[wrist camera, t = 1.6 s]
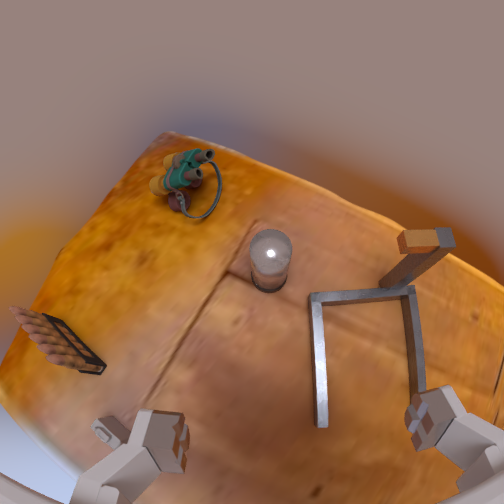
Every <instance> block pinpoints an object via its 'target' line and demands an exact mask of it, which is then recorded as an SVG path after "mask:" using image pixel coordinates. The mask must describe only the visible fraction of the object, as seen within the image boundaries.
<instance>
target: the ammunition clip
mask: <svg viewBox="0 0 504 504" xmlns="http://www.w3.org/2000/svg"><path fill="white" fill-rule="evenodd" d="M9 309H10V311H11V312H12V313H14V314H15V315H16V316H15V318H16V319H17V321H19V322H20V323H22V324H23V325H22V328H23V329H24V330H25V331H26V332H28V333H30V335H29V338H30V339H31V340H33V341H34V342H36V343H38V344H39V345H37V348H38V349H39V350H40V351H42V352H44V353H46V354H49V355H48V356H46V359H47V360H48V361H49V362H51V363H53V364H56V365H60V366H64V367H66V368H69V369H77V370H78V371H79V372H81V373H88V374H95V375H101V374H102V372H103V371H104V369H105V368H106V366H107V365H106V364H105V363H104V362H103V361H102V360H101V359H100V358H99V357H98V356H97V355H95V354H94V353H93V352H92V351H91V350H90V349H89V348H88V347H87V346H86V345H85V344H84V343H83V342H82V341H81V340H80V339H79V338H78V337H77V335H76V334H75V333H74V332H73V331H72V330H71V329H70V328H69V327H68V326H67V325H66V324H65V323H64V322H63V321H62V320H61V319H58V318H55V317H53V316H50V315H47V314H45V313H42V314H39V313H37V312H34V311H32V310H26V309H23V308H20V307H14V306H12V307H9Z"/></svg>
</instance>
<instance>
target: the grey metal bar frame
mask: <svg viewBox="0 0 504 504" xmlns="http://www.w3.org/2000/svg"><path fill="white" fill-rule="evenodd" d="M397 241H398V246H399V251H400V254H408V255H407V256H406V257H405V258H404V259H403V260H402V261H401V262H399V263H398V264H397V265H396V266H395V267H394V268H393V269H392V270H391V271H390V272H389V273H388V274H387V275H385V276H384V277H383V278H382V279H381V280H380V281H379V286H380V288H374V289H361V290H347V291H332V292H316V293H310V295H309V296H308V309H309V323H310V337H311V354H312V372H313V395H314V425H315V426H316V427H317V428H323V427H328V401H327V378H326V360H325V344H324V330H323V318H322V306H332V305H345V304H357V303H369V302H380V301H390V300H400V299H401V304H402V311H403V318H404V326H405V335H406V344H407V355H408V367H409V383H410V405H411V404H412V402H411V399H412V397H413V395H414V394H415V393H419V392H423V391H426V375H425V362H424V350H423V341H422V332H421V324H420V316H419V310H418V303H417V297H416V291H415V285H409V286H406V285H408V284H409V283H410V282H412V281H413V280H414V279H416V278H417V277H418V276H420V275H421V274H423V273H424V272H425V271H426V270H428V269H429V268H430V267H432V266H433V265H434V264H436V263H437V262H438V261H439V260H441V259H442V258H443V257H444V256H446V255H447V254H448V253H449V252H451V251H452V250H453V249H454V248H455V247H456V244H455V241H454V237H453V234H452V230H451V228H434V229H433V230H403V231H402V232H401V233H400V235H399V236H398V237H397Z"/></svg>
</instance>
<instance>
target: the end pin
mask: <svg viewBox="0 0 504 504" xmlns="http://www.w3.org/2000/svg"><path fill="white" fill-rule="evenodd" d="M291 254H292V244H291V241H290V239H289V238H288V237H287V236H286V235H285V234H284V233H283V232H281V231H278V230H274V229H267V230H263V231H261V232H259V233H257V234H256V235H255V236H254V237H253V239H252V241H251V243H250V259H251V269H252V271H251V277H252V282H253V284H254V286H255V287H256V288H257V289H258V290H260V291H262V292H265V293H274V292H277V291H279V290H280V289H281V288H282V287H283V286H284V284H285V282H286V279H287V272H288V267H289V263H290V259H291Z"/></svg>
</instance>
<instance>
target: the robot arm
mask: <svg viewBox="0 0 504 504" xmlns="http://www.w3.org/2000/svg"><path fill="white" fill-rule="evenodd" d="M411 402H412V404H411V405H410V406H409V407H407V409H406V412H405V425H406V427H407V430H408V431H410V432H411V433H413V434H412V437H411V440H412V442H413V445H414V447H415V450H416V452H417V451H421V450H424V449H428V448H431V447H434V446H435V448H436V449H437V450H439V451H440V452H441V453H442V454H444V455H445V456H446V457H447V458H449V459H450V460H451V461H452V462H454V463H455V464H456V465H457V466H459V467H460V468H461V469H462V470H464V471H465V472H464V473H463V474H462V475H461V476H460V477H459V478H458V479H457V481H456V483H457V486H458V489H459V491H460V493H459V494H457V495H454V496H452V497H450V498H448V499H445V500H443V501H441V502H438V503H436V504H504V431H503V430H501V429H499V428H498V427H496V426H494V425H492V424H490V423H488V422H486V421H485V420H483V419H481V418H479V417H477V416H476V415H474V414H472V413H468V414H467V412H466V410H465V408H464V407H463V405H462V403H461V402H460V400H459V398H458V397H457V395H456V393H455V392H454V390H453V389H452V387H451V386H450V385H445V386H442V387H439V388H434V389H430V390H426V391H423V392H419V393H415V394H414V395H413V397H412V399H411ZM184 422H185V417H184V414H183V413H179V412H169V411H159V410H151V409H143V408H141V409H140V410H139V411H138V413H137V416H136V419H135V422H134V425H133V428H132V431H131V434H130V437H129V440H128V443H127V444H124V443H123V444H122V445H121V446H120V447H118V448H117V449H116V450H114V451H113V452H112V453H110V454H109V455H108V456H106V457H105V458H104V459H102V460H101V461H100V462H98V463H97V464H96V465H94V466H93V467H91V468H90V469H89V470H87V471H86V472H85V473H83V474H82V475H80V476H79V478H78V481H77V483H76V486H75V489H74V491H73V495H72V497H71V500H70V503H69V504H132V503H133V502H134V501H135V500H136V499H137V498H138V497H139V496H140V495H141V494H142V493H143V492H144V491H145V490H146V489H147V487H148V486H149V485H150V484H151V483H152V482H153V481H154V480H155V479H156V478H157V477H158V476H159V475H160V474H161V472H169V473H180V474H184V473H185V467H186V462H187V458H186V456H185V452H186V451H187V450H188V449H189V443H190V433H189V428H188V425H186V424H185V423H184ZM0 504H64V503H61V502H59V501H56V500H54V499H52V498H49V497H47V496H45V495H43V494H41V493H38V492H36V491H34V490H32V489H30V488H28V487H26V486H24V485H22V484H20V483H18V482H17V481H15V480H13V479H11V478H9V477H7V476H6V475H4V474H2V473H0Z"/></svg>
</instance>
